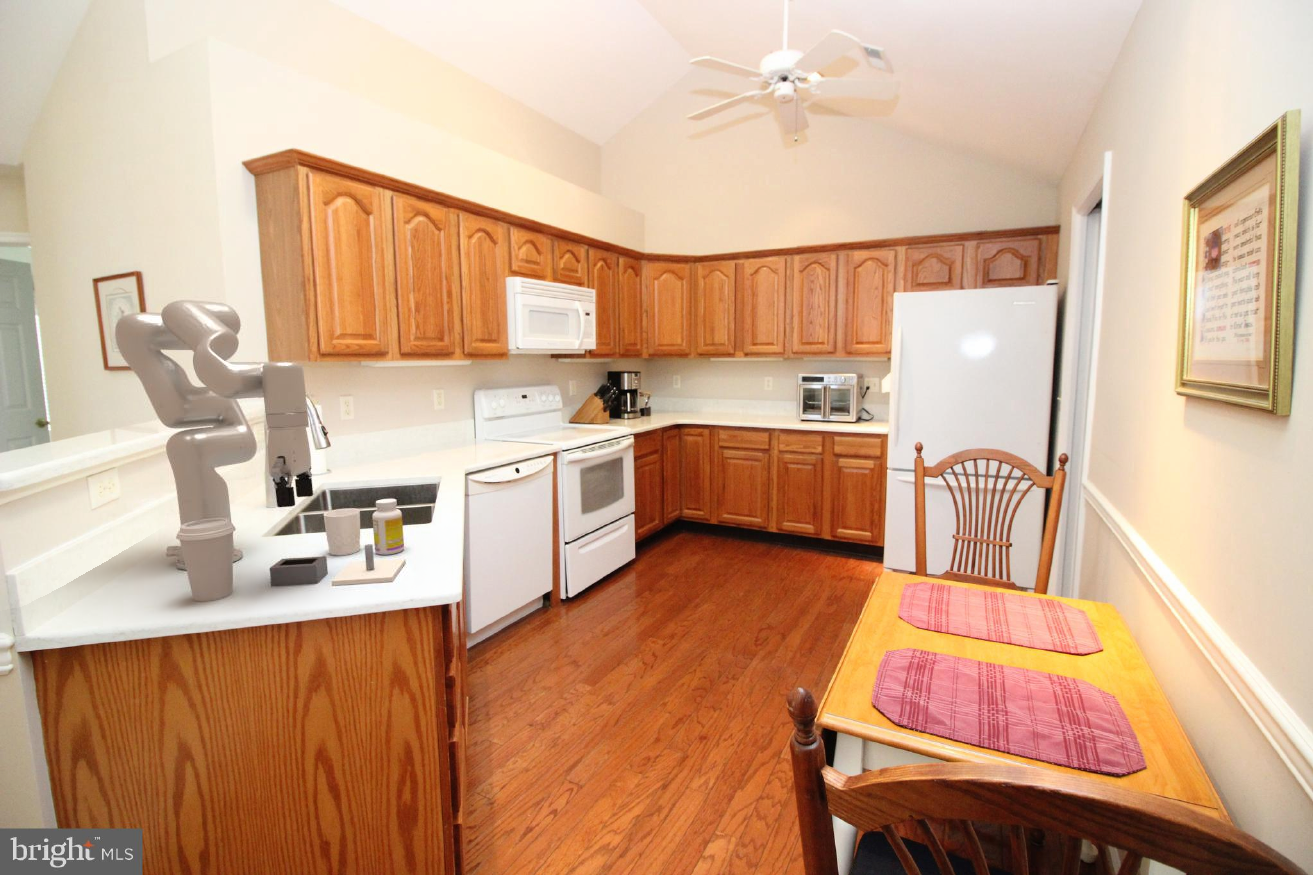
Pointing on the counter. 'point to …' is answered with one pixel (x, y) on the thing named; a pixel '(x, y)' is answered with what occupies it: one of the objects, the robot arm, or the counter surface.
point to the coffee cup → (208, 557)
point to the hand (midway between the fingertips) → (296, 501)
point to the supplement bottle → (387, 527)
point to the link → (298, 571)
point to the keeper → (369, 570)
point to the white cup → (343, 531)
